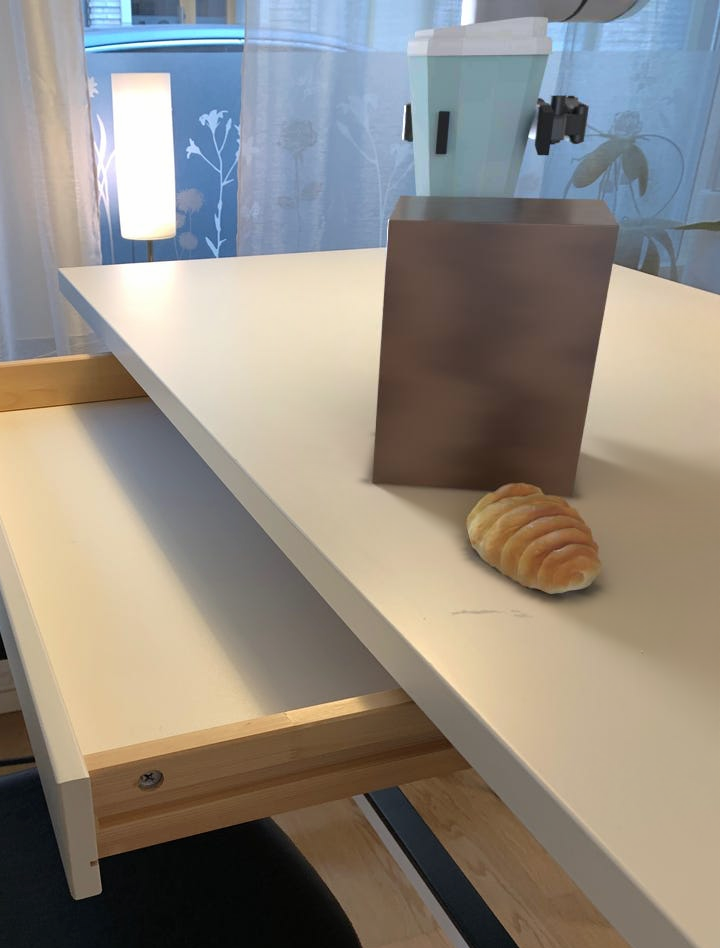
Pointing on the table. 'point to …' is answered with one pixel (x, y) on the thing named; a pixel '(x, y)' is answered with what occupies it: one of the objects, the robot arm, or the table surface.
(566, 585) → the pastry
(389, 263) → the storage box
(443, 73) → the disposable coffee cup
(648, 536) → the table surface
